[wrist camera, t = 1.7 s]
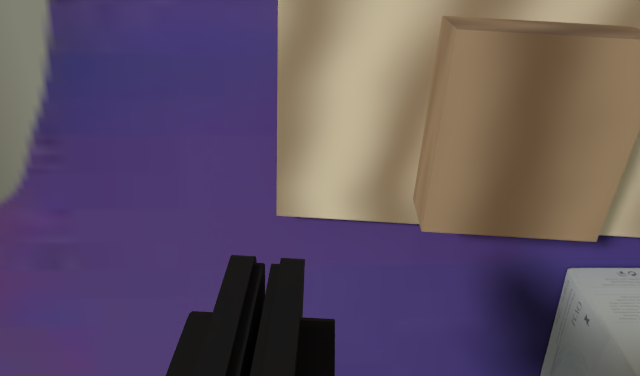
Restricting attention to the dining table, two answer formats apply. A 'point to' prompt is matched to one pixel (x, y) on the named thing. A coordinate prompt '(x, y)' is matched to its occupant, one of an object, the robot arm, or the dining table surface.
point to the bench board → (389, 101)
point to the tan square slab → (527, 127)
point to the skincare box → (596, 324)
